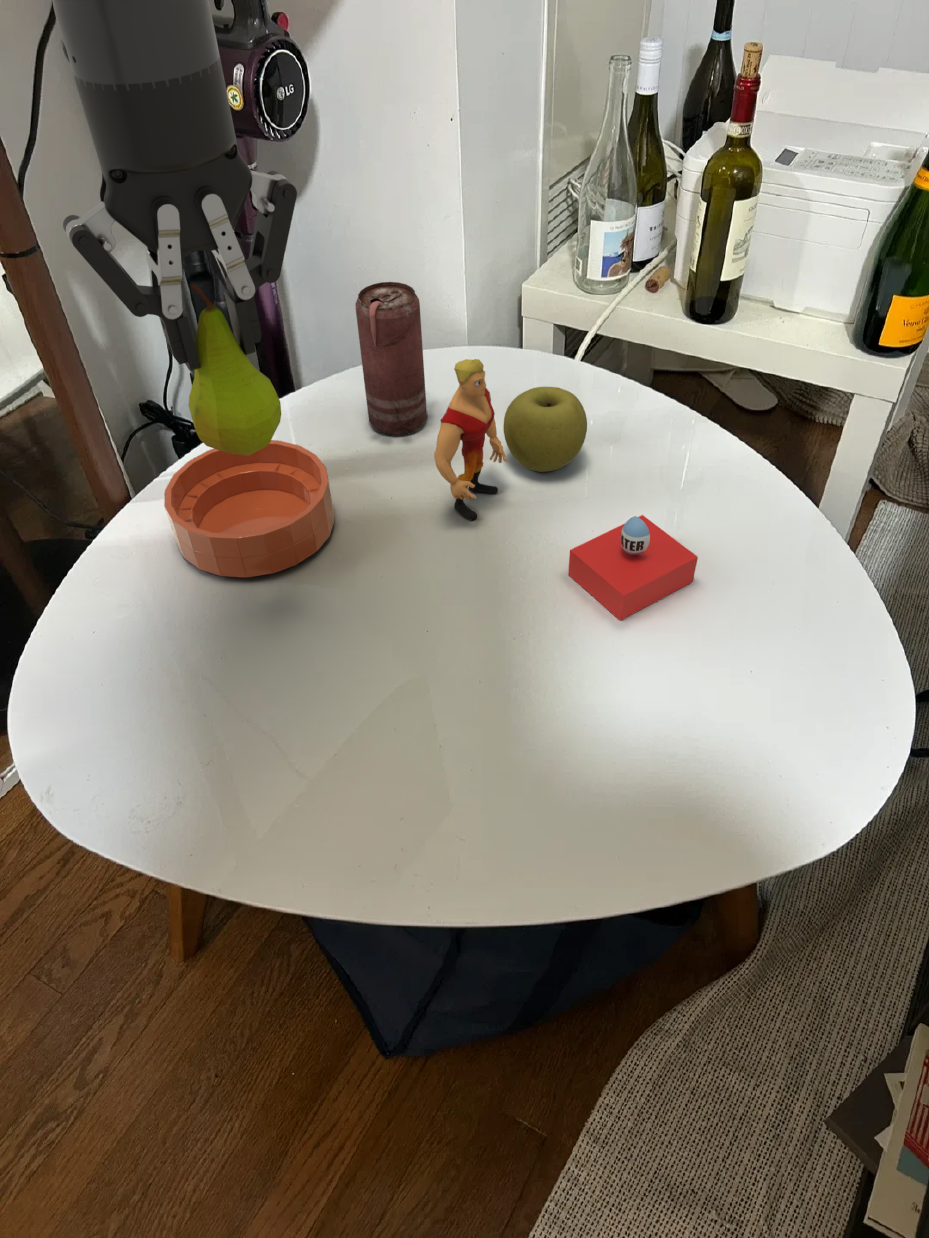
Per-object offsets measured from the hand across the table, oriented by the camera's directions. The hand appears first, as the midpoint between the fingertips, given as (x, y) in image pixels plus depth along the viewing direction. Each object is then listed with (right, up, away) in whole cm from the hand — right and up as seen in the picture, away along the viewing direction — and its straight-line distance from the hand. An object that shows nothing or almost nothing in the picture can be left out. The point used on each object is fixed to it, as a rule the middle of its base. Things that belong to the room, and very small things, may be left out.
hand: (219, 355), depth 60 cm
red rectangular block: (+30, -14, +19) cm, 38 cm away
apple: (+24, -2, +31) cm, 39 cm away
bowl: (-3, -9, +25) cm, 26 cm away
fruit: (0, -5, +5) cm, 7 cm away
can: (+9, +3, +37) cm, 38 cm away
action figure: (+17, -6, +27) cm, 32 cm away
